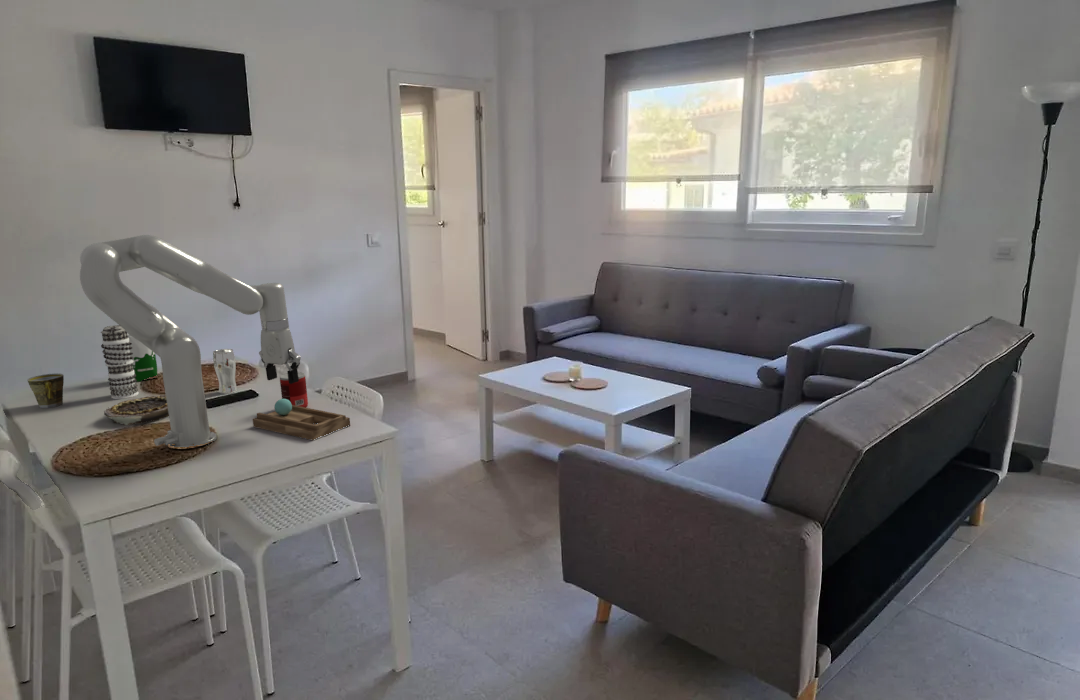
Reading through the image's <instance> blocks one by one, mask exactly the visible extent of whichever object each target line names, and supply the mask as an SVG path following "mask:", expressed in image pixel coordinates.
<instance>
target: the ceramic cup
mask: <svg viewBox="0 0 1080 700" xmlns="http://www.w3.org/2000/svg"><path fill="white" fill-rule="evenodd" d="M27 383H28V385H29V387H30V390H31V391H32V392H33V395H34V397H35V400H36V403H37V404H38V407H39V408H40V409H49V408H56V407H59V406H61V405H63V401H64V399H63V397H64V373H58V372H57V373H55V372H54V373H44V374H40V375H39V374H37V375H35V376H32V377H29V378H27Z"/></svg>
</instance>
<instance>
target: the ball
mask: <svg viewBox="0 0 1080 700" xmlns="http://www.w3.org/2000/svg"><path fill="white" fill-rule="evenodd" d="M273 406H274V412H275V411H276V412H277V413H278V414H279V415H287V414H288V413H290V411H291V409H292V404H291V402H290V401H289V400H287V399H282V398H280V399H278V400H277V401H276V402H275V404H274V405H273Z"/></svg>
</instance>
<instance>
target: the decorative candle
mask: <svg viewBox="0 0 1080 700" xmlns="http://www.w3.org/2000/svg"><path fill="white" fill-rule="evenodd" d="M99 333H101V337H102V344H101V345H100V347H101V349H103V350H102V351H101V352H102V354H103V356H102V357H103V358H104V359H105V360H104V363H105V366H106V367H107V370H108V371H107V372H108V375H107V376H108V379H107V381H109V382H108V385H109V386H110V387H109V390H110V395H111V396H110V398H111V399H114V400H122V399H129V398H132V397H133V398H134V397H136V396H138V395H139V388H138V382H137V379H135V377H136V375H135V373H134V370H133V365H132V363H133V362H134V361H133V360H131V359H133V357H132V356H131V355H132V354H133V353H132V352H130V349H132V347H131V346H130V345H131V344H132V343H131V342H129V338H128V333H127V332H126V331H125V330H124V328H122V327H121V326H120V325H119V324H117V325H115V324H114V325H109V326H105V327H103V329H102V331H100V332H99ZM129 346H130V347H129Z"/></svg>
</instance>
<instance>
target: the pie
mask: <svg viewBox="0 0 1080 700" xmlns="http://www.w3.org/2000/svg"><path fill="white" fill-rule="evenodd" d="M103 412H104V413H103V415H104V416H105V417H106V418H109V419H111V420H113V421H114V424H119V425H120V424H122V425H123V426H133V425H138V424H145V423H151V422H154V421H159V420H162V419H166V418H169V413H168V406H167V400H166V394H160V395H149V396H148V395H147V396H144V397H139V398H132V399H127V400H123V401H120V402H118V403H117V404H114V405H113V406H111V407H110V408H109V407H107V408H106V410H103Z"/></svg>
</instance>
